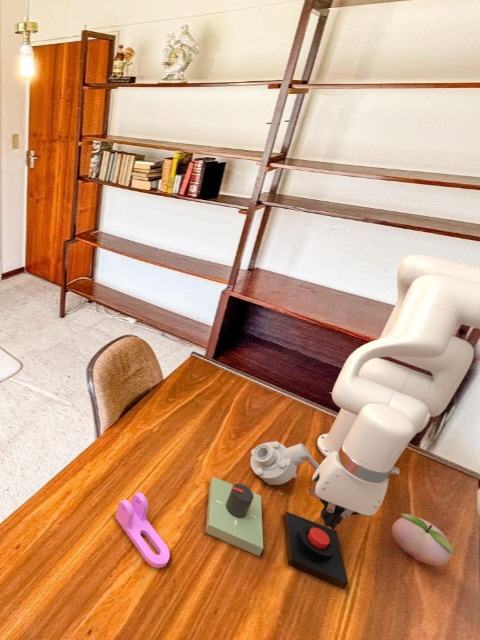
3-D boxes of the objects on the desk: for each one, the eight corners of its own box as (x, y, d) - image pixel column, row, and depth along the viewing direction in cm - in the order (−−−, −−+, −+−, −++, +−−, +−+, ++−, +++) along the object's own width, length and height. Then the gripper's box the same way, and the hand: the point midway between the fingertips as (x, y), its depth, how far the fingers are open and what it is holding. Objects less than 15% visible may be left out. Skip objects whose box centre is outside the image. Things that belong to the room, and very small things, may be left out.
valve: (295, 520, 104) (357, 506, 96) (247, 476, 100) (307, 457, 93) (284, 485, 112) (339, 468, 104) (240, 442, 109) (294, 422, 101)
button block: (283, 516, 94) (288, 506, 93) (333, 536, 91) (339, 526, 89) (287, 565, 85) (294, 553, 83) (344, 589, 81) (351, 578, 79)
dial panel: (209, 484, 102) (212, 476, 100) (257, 503, 97) (261, 494, 96) (205, 532, 90) (208, 524, 89) (259, 556, 86) (263, 547, 85)
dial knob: (245, 505, 94) (253, 487, 91) (246, 521, 90) (254, 503, 87) (225, 497, 95) (232, 479, 92) (225, 513, 92) (232, 495, 89)
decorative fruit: (444, 562, 86) (468, 533, 82) (431, 583, 82) (456, 555, 78) (391, 525, 93) (410, 497, 89) (377, 543, 89) (397, 515, 85)
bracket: (115, 517, 93) (119, 498, 90) (134, 508, 95) (138, 488, 92) (154, 572, 82) (160, 552, 79) (174, 560, 85) (180, 540, 82)
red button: (306, 529, 88) (309, 524, 87) (325, 537, 87) (328, 532, 86) (308, 544, 85) (311, 539, 85) (328, 552, 84) (331, 547, 83)
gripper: (405, 462, 76) (366, 522, 84) (313, 434, 82) (285, 491, 90) (419, 495, 70) (376, 555, 78) (319, 461, 76) (288, 520, 84)
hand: (327, 521), depth 84 cm, fingers closed
